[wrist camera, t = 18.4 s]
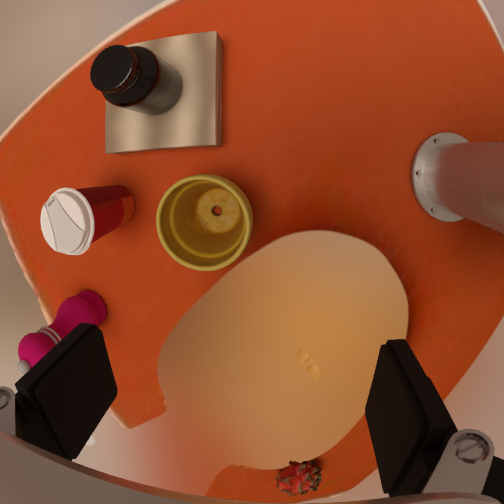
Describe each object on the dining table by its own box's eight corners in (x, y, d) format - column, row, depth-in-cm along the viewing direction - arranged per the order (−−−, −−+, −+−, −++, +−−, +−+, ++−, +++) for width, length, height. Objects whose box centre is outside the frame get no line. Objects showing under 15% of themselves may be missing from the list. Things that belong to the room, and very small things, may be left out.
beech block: (222, 41, 35) (216, 31, 32) (221, 146, 40) (215, 144, 36) (122, 56, 37) (109, 49, 33) (119, 153, 41) (105, 153, 37)
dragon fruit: (323, 448, 55) (284, 465, 60) (297, 456, 50) (257, 472, 55) (337, 482, 50) (296, 495, 55) (313, 493, 44) (270, 505, 49)
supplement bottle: (124, 96, 35) (69, 80, 23) (157, 55, 33) (113, 24, 22) (158, 126, 36) (110, 116, 24) (195, 84, 34) (158, 55, 22)
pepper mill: (99, 332, 50) (35, 401, 31) (70, 305, 49) (-2, 364, 30) (116, 307, 48) (45, 377, 29) (84, 278, 47) (5, 335, 28)
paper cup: (90, 194, 43) (28, 210, 30) (127, 168, 42) (68, 175, 28) (112, 239, 45) (57, 269, 31) (151, 216, 43) (99, 241, 30)
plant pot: (184, 247, 44) (159, 271, 35) (179, 173, 41) (151, 178, 32) (259, 247, 43) (252, 272, 34) (257, 170, 40) (249, 172, 31)
